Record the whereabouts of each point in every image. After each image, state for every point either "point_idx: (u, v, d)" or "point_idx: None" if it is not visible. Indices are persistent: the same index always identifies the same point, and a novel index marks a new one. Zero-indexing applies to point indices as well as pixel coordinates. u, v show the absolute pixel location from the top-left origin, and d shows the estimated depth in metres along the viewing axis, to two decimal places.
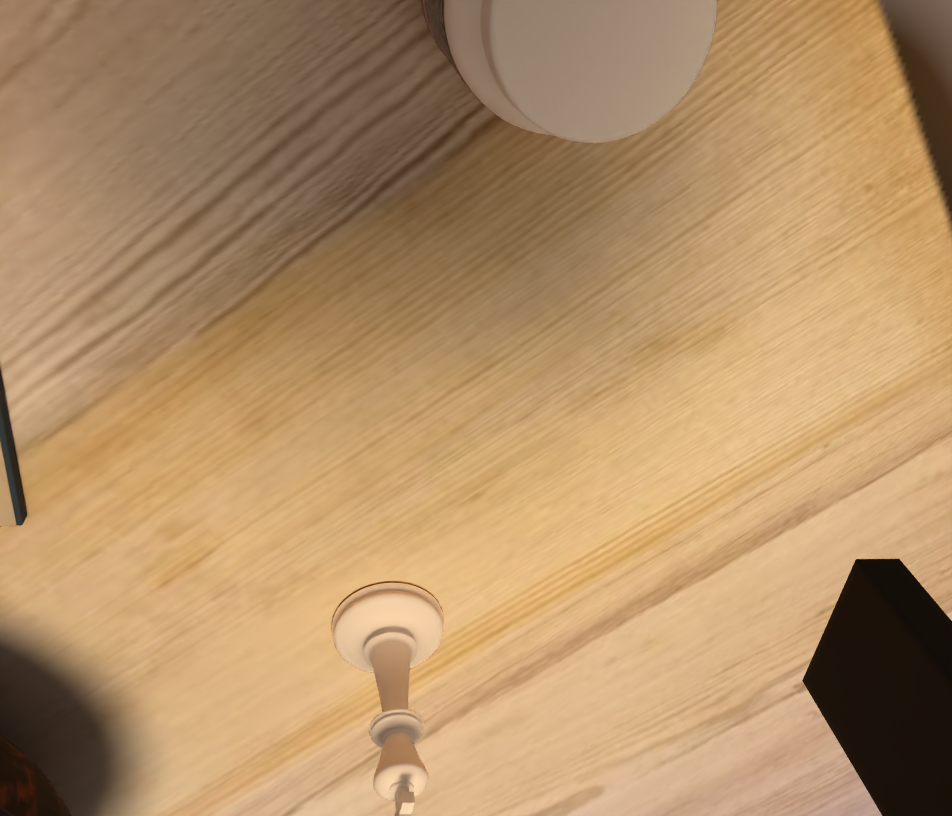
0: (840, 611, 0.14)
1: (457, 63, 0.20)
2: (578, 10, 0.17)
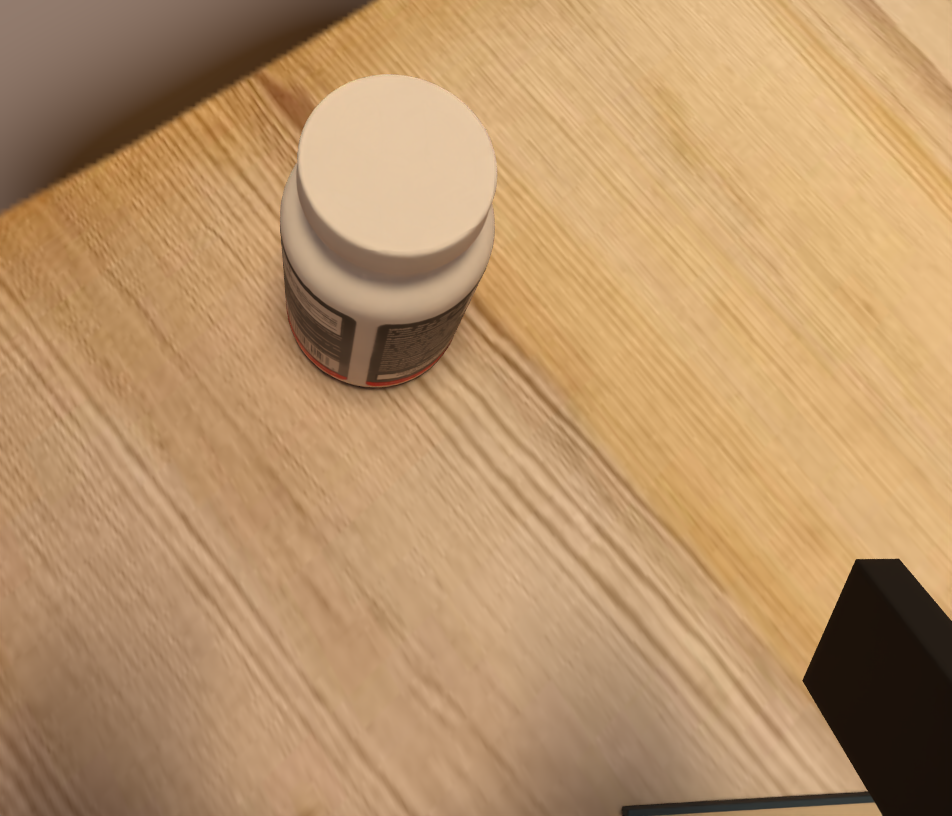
0: (840, 611, 0.14)
1: (442, 307, 0.22)
2: (390, 185, 0.20)
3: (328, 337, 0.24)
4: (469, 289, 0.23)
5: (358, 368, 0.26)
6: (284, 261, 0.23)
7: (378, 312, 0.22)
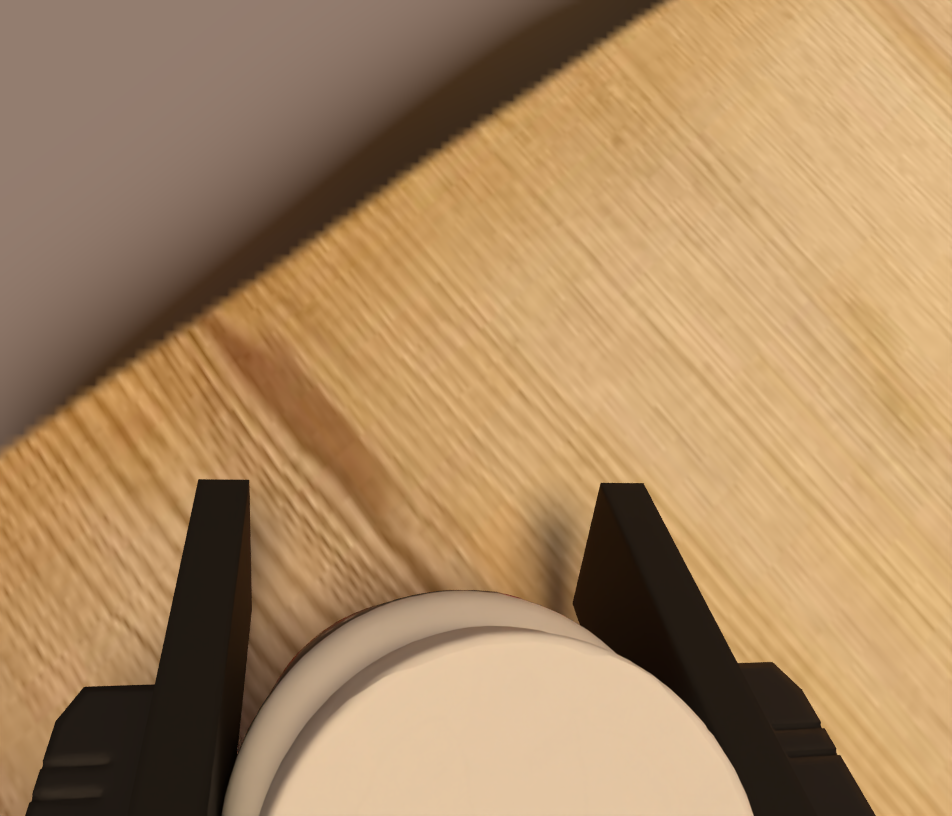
0: (592, 533, 0.15)
1: None
2: None
3: None
4: None
5: None
6: None
7: None
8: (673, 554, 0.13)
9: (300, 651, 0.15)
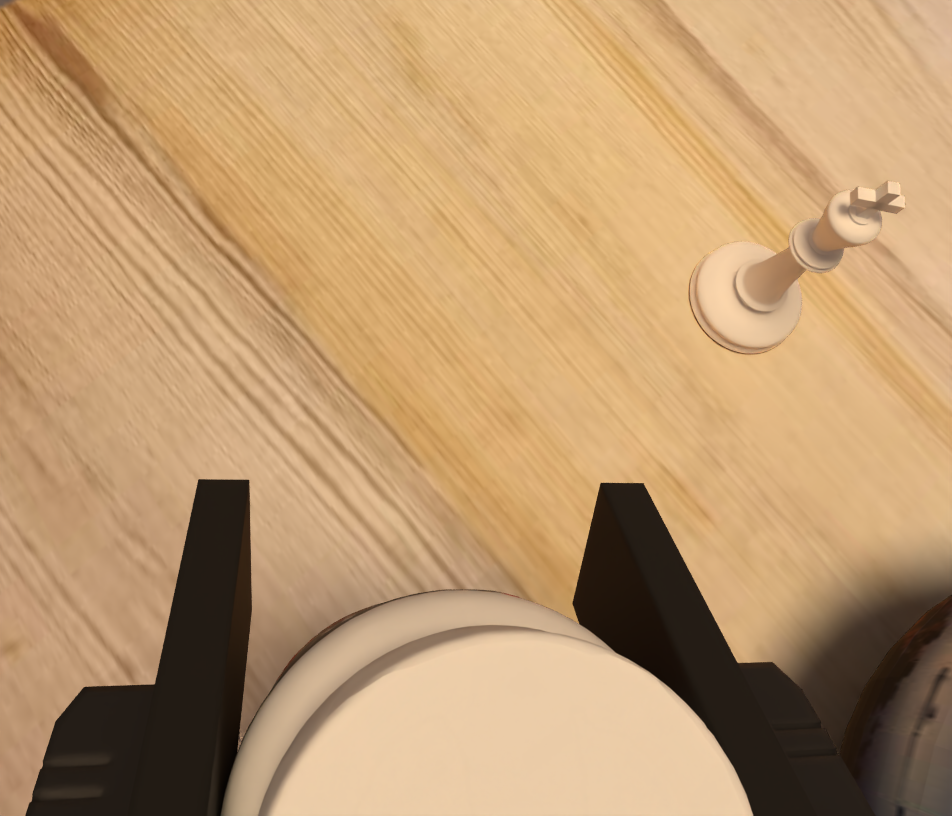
0: (591, 533, 0.15)
1: None
2: None
3: None
4: None
5: None
6: None
7: None
8: (673, 554, 0.13)
9: None
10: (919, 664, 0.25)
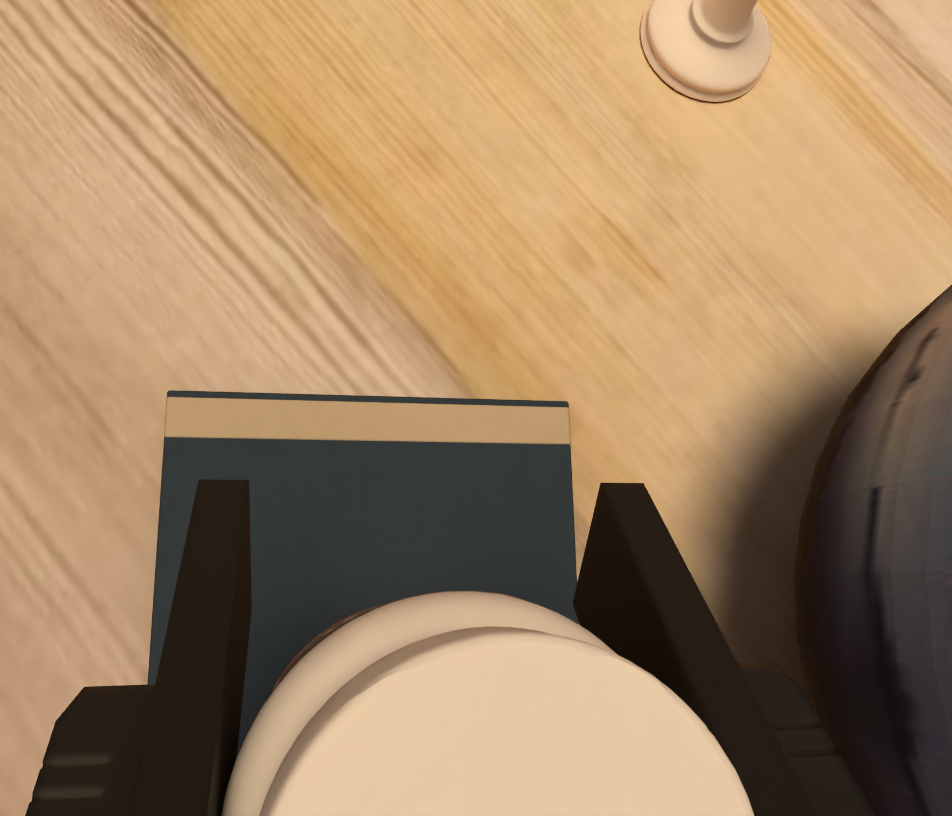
0: (591, 533, 0.15)
1: None
2: None
3: None
4: None
5: None
6: None
7: None
8: (673, 554, 0.13)
9: None
10: (901, 344, 0.20)
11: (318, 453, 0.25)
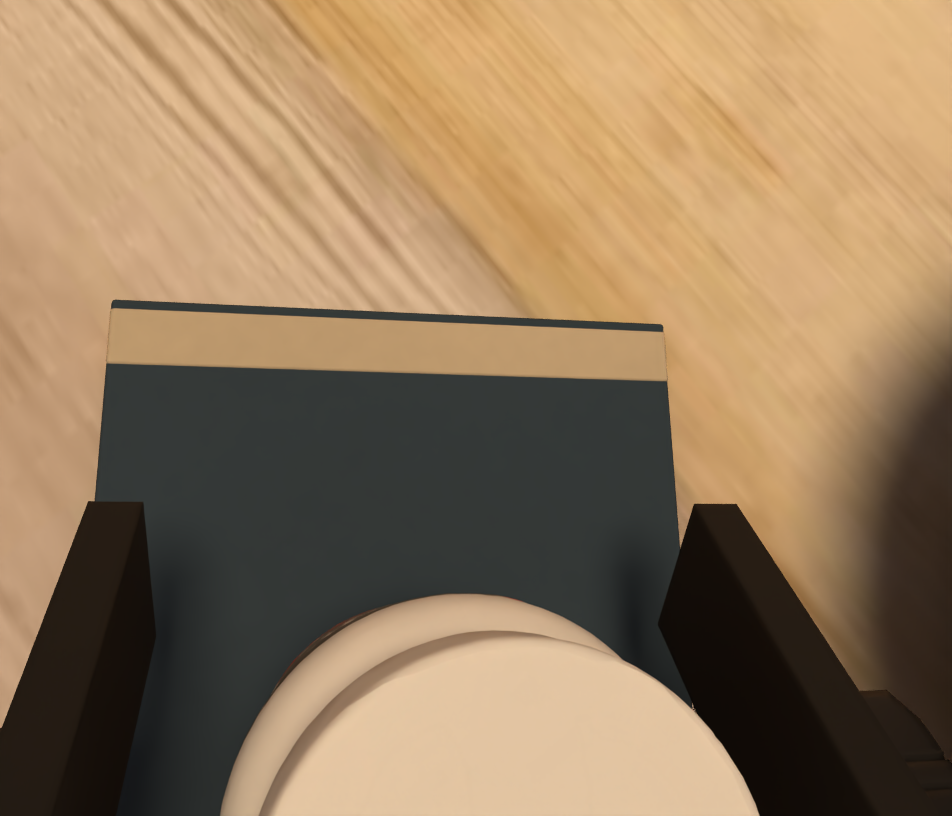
0: (682, 554, 0.14)
1: None
2: None
3: None
4: None
5: None
6: None
7: None
8: (778, 578, 0.13)
9: (300, 654, 0.15)
10: None
11: (324, 388, 0.18)
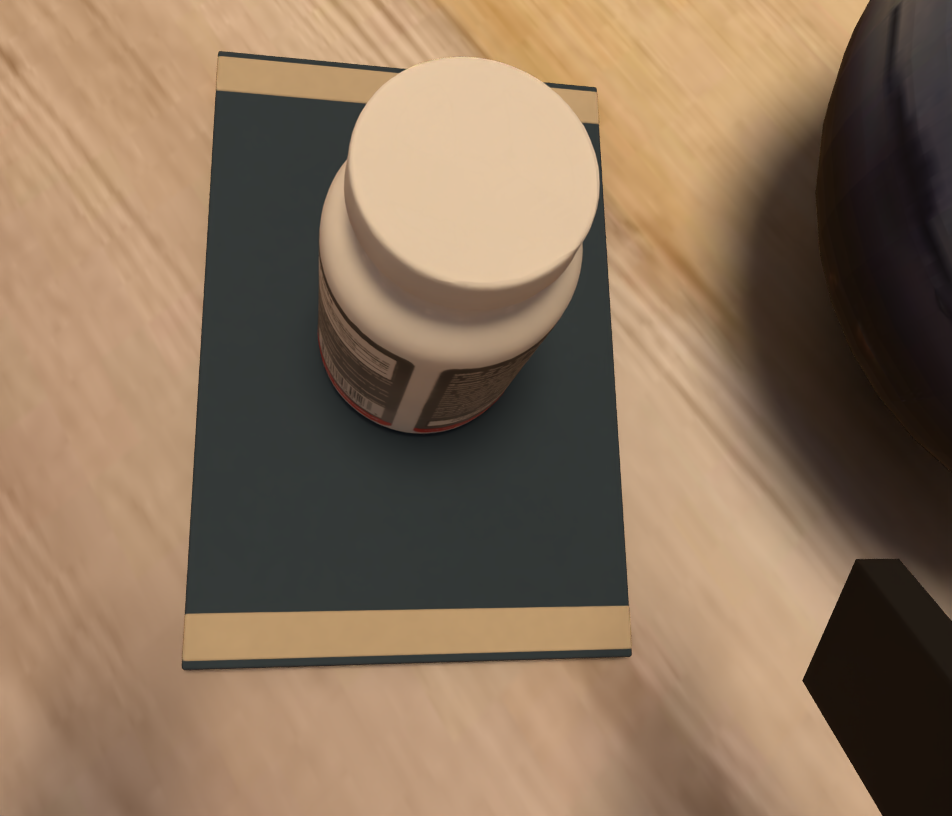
0: (840, 611, 0.14)
1: (522, 348, 0.18)
2: (467, 197, 0.15)
3: (376, 381, 0.20)
4: (553, 324, 0.18)
5: (407, 415, 0.22)
6: (323, 290, 0.19)
7: (443, 355, 0.17)
8: None
9: None
10: None
11: None
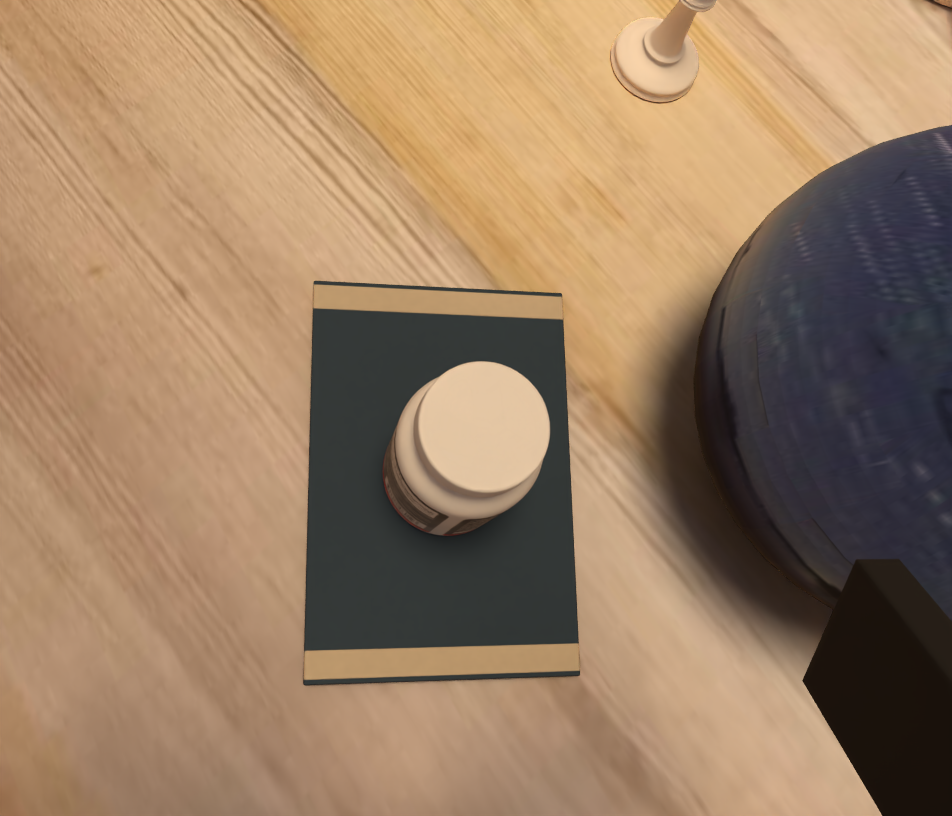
0: (840, 611, 0.14)
1: (509, 507, 0.32)
2: (479, 442, 0.29)
3: (424, 516, 0.34)
4: (527, 492, 0.32)
5: (440, 530, 0.36)
6: (395, 468, 0.33)
7: (466, 514, 0.31)
8: None
9: None
10: (748, 238, 0.35)
11: (406, 320, 0.41)
